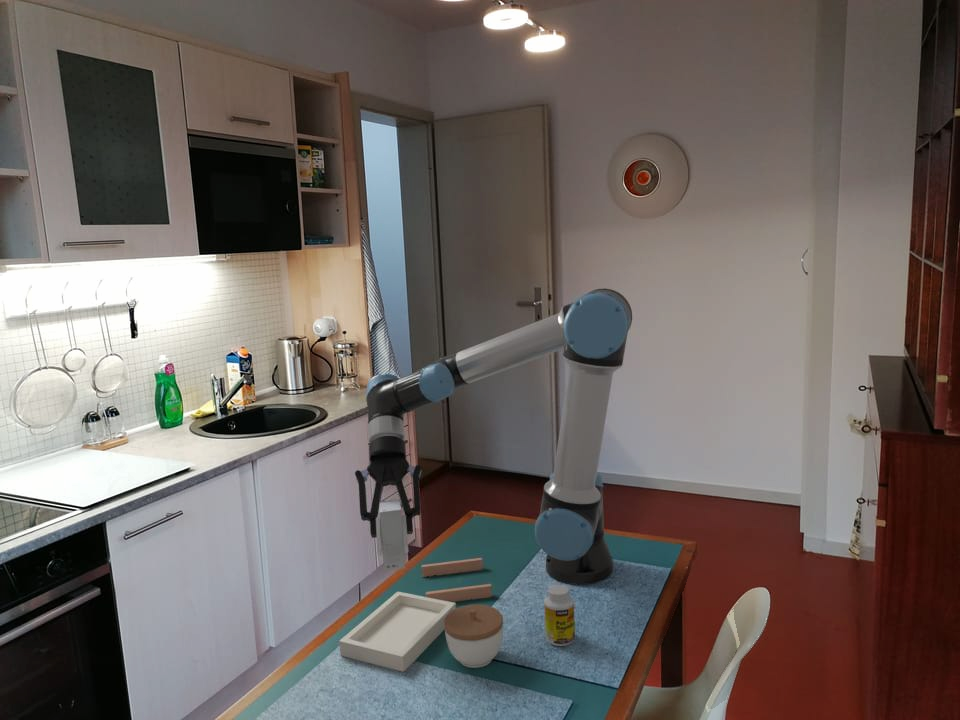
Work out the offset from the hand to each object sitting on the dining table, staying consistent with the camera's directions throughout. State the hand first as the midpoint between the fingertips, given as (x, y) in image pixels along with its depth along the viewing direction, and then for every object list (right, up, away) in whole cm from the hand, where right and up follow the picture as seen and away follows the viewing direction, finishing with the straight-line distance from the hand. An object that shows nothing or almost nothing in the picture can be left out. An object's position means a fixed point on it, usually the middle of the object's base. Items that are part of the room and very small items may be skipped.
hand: (393, 551), depth 134 cm
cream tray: (+1, -18, +5) cm, 18 cm away
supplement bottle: (+32, -17, 0) cm, 36 cm away
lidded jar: (+16, -19, -4) cm, 25 cm away
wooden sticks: (+11, -14, +23) cm, 29 cm away
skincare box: (0, -4, +5) cm, 6 cm away
